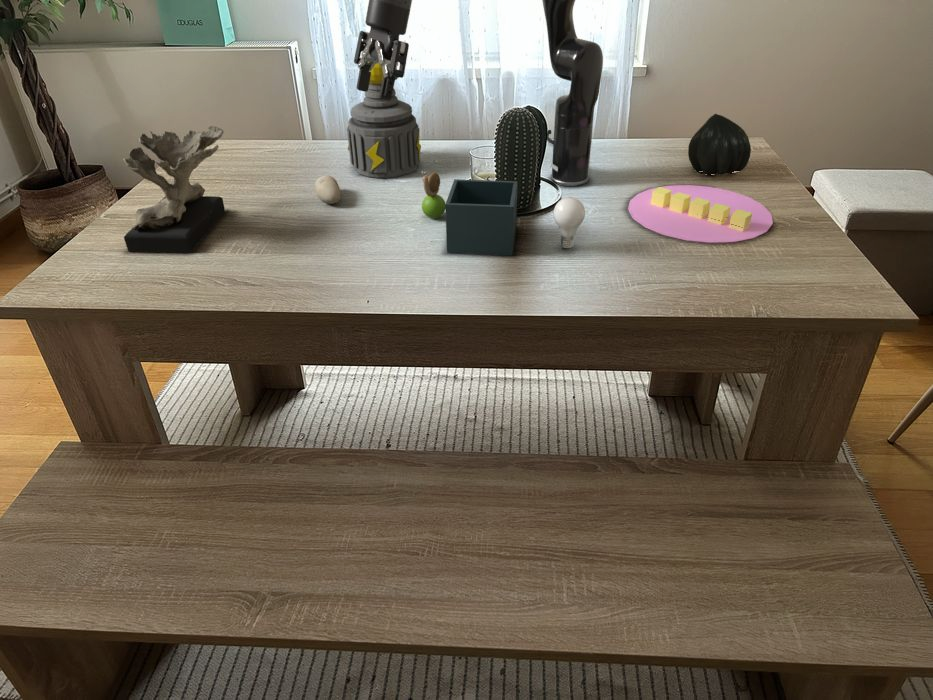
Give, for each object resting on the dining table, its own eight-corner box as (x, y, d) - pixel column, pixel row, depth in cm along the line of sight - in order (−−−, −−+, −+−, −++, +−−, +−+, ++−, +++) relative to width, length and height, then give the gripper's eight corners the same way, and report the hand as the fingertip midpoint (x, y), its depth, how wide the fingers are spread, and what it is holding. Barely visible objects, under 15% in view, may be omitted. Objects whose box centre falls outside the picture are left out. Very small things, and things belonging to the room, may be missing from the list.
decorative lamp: (361, 153, 196) (349, 38, 179) (427, 156, 194) (421, 39, 177) (342, 178, 181) (327, 55, 164) (413, 181, 179) (406, 56, 162)
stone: (321, 200, 162) (303, 171, 169) (330, 218, 168) (312, 189, 174) (343, 189, 163) (324, 160, 169) (352, 207, 168) (333, 178, 175)
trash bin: (455, 225, 157) (454, 179, 150) (516, 227, 155) (517, 181, 149) (446, 253, 146) (445, 204, 139) (512, 256, 144) (513, 206, 138)
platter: (732, 257, 142) (736, 242, 140) (600, 214, 160) (602, 200, 158) (796, 209, 161) (800, 195, 159) (671, 175, 179) (673, 163, 177)
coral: (175, 204, 168) (151, 114, 156) (257, 206, 167) (240, 115, 154) (124, 251, 148) (92, 152, 136) (217, 255, 146) (193, 154, 134)
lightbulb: (562, 257, 143) (566, 207, 137) (545, 245, 148) (548, 196, 142) (588, 250, 146) (592, 200, 139) (570, 238, 150) (574, 190, 144)
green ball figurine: (415, 221, 159) (412, 170, 152) (429, 210, 163) (427, 160, 157) (436, 225, 157) (434, 174, 150) (450, 215, 161) (448, 164, 154)
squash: (760, 164, 170) (755, 106, 172) (697, 167, 170) (693, 109, 172) (740, 185, 184) (735, 130, 186) (682, 188, 185) (678, 133, 186)
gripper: (428, 12, 124) (409, 106, 130) (387, 3, 134) (370, 91, 140) (393, 1, 119) (375, 99, 125) (353, -7, 129) (337, 84, 135)
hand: (373, 95), depth 133 cm, fingers open, 8 cm apart
